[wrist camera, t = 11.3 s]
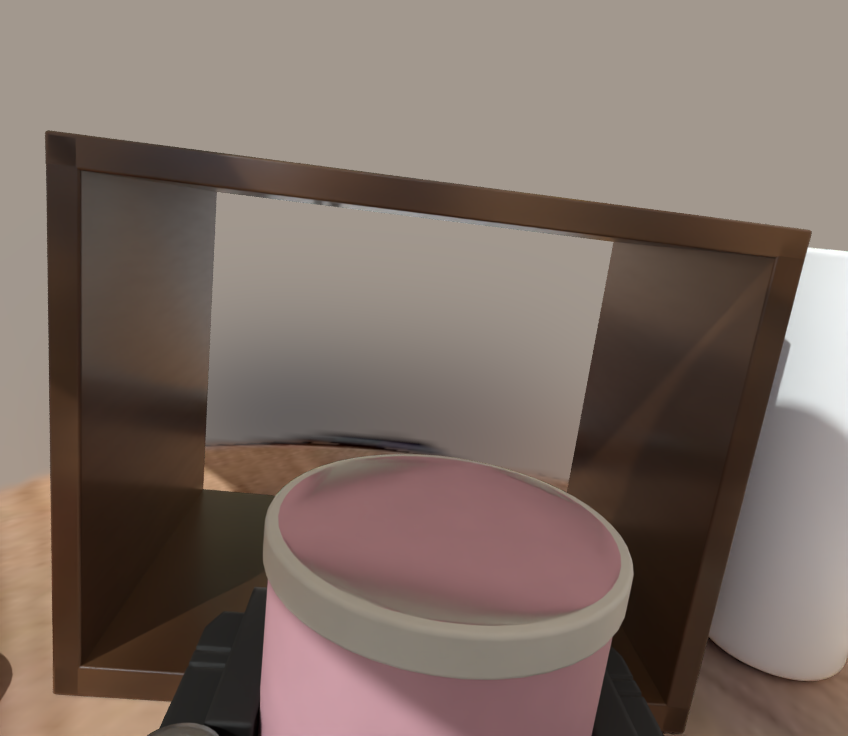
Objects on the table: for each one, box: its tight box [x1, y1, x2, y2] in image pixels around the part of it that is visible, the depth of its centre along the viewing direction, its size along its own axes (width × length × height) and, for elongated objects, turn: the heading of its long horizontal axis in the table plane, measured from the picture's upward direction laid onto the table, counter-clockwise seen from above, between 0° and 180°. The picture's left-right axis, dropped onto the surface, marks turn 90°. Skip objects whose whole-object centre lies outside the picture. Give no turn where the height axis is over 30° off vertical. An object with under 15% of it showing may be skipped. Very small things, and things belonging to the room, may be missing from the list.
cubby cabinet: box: [45, 131, 812, 733], centre depth 23 cm, size 19×12×15 cm, turn 93°
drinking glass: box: [708, 248, 848, 681], centre depth 23 cm, size 7×7×15 cm
